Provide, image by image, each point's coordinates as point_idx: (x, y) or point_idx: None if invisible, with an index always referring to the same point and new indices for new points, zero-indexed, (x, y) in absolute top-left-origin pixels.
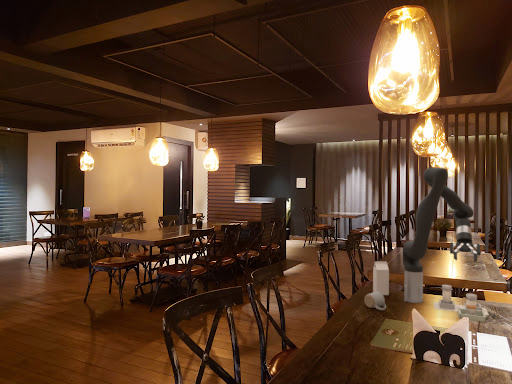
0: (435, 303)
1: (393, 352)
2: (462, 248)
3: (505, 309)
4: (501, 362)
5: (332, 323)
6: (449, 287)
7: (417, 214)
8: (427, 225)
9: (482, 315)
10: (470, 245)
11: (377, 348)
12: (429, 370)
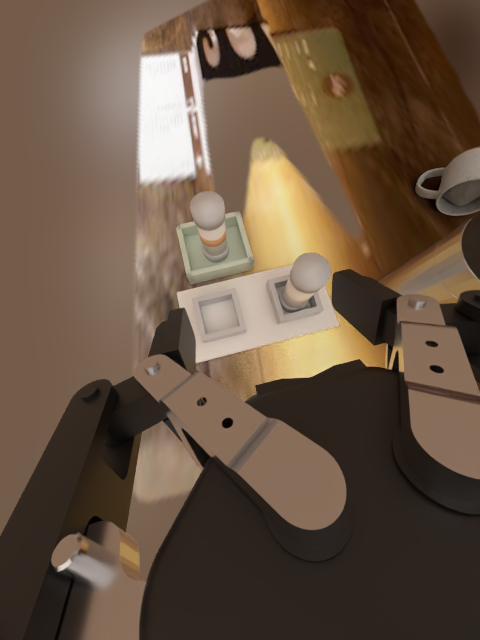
0: (329, 313)
1: (294, 24)
2: (360, 373)
3: None
4: (148, 74)
5: (443, 62)
6: (297, 259)
7: None
8: None
9: (190, 263)
10: (229, 519)
11: (320, 23)
12: (233, 6)
